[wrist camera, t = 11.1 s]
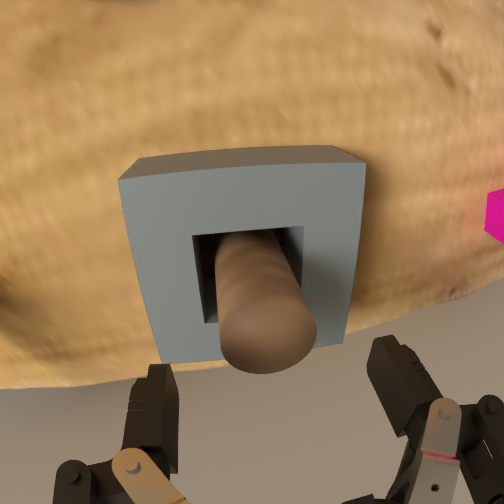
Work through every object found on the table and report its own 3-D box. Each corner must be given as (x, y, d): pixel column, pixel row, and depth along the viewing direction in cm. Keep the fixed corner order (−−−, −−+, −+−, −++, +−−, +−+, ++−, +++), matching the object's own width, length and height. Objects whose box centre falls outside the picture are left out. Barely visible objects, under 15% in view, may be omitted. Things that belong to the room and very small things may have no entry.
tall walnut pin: (272, 206, 21) (321, 297, 12) (273, 260, 23) (312, 366, 14) (210, 212, 20) (215, 309, 12) (215, 266, 22) (225, 378, 14)
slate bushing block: (331, 145, 19) (366, 162, 15) (321, 300, 25) (342, 343, 21) (138, 158, 18) (117, 179, 14) (167, 316, 24) (162, 363, 19)
